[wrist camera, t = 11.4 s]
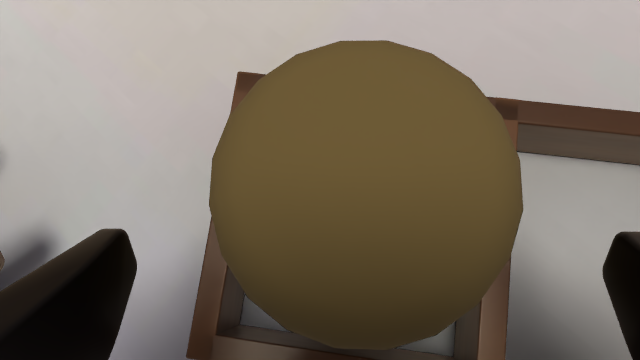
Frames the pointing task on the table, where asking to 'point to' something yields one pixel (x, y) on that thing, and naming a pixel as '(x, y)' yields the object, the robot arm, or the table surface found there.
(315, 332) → the cork
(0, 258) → the figurine character
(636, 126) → the frame
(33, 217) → the table surface
